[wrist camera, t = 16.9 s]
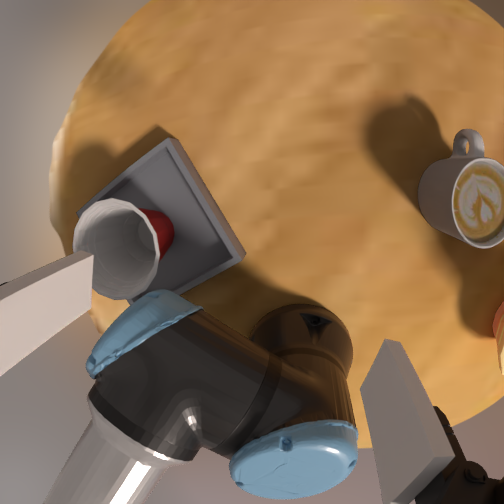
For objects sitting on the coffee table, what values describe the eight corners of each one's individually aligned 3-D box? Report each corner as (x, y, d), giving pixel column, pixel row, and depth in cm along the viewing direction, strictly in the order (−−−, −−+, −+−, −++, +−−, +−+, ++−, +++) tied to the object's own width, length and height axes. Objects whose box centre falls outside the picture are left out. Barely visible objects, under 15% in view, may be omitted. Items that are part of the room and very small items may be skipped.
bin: (246, 253, 42) (242, 260, 38) (148, 308, 46) (138, 317, 43) (178, 139, 39) (168, 137, 36) (89, 209, 43) (76, 212, 40)
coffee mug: (468, 238, 37) (506, 256, 27) (410, 222, 38) (441, 237, 28) (485, 148, 33) (526, 145, 24) (428, 125, 34) (463, 114, 25)
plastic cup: (210, 234, 41) (178, 258, 29) (158, 283, 44) (116, 318, 32) (157, 173, 40) (108, 176, 28) (110, 227, 43) (57, 245, 31)
